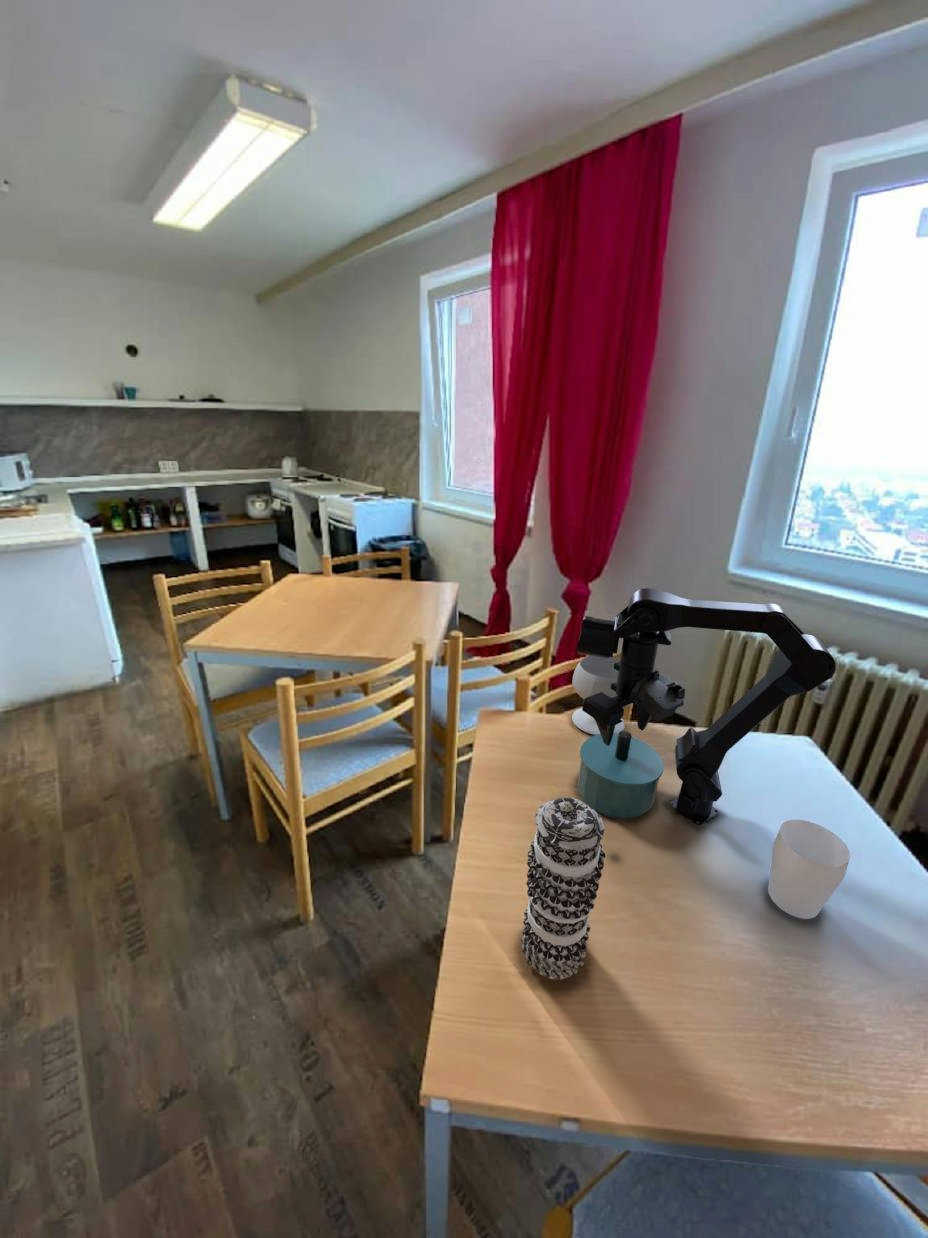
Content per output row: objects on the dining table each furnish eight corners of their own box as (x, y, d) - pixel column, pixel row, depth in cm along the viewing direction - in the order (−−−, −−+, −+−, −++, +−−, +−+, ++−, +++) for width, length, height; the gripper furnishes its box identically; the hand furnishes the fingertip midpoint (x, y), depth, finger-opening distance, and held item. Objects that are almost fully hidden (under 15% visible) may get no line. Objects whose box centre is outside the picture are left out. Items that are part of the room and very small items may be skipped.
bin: (612, 760, 110) (617, 728, 107) (669, 801, 99) (676, 767, 96) (562, 784, 103) (566, 750, 100) (617, 830, 92) (624, 795, 89)
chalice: (613, 747, 114) (622, 688, 108) (557, 724, 122) (563, 667, 116) (637, 720, 124) (647, 664, 118) (584, 700, 132) (591, 647, 126)
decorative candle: (598, 983, 67) (625, 837, 58) (529, 995, 66) (546, 847, 56) (572, 919, 76) (592, 782, 66) (511, 929, 74) (522, 790, 64)
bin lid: (617, 729, 108) (621, 704, 105) (680, 770, 96) (686, 743, 94) (562, 752, 100) (566, 726, 98) (624, 800, 88) (629, 771, 86)
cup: (817, 886, 82) (840, 828, 77) (834, 937, 74) (861, 875, 69) (754, 869, 85) (773, 812, 80) (764, 917, 77) (785, 857, 72)
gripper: (637, 697, 79) (623, 779, 85) (711, 668, 88) (693, 743, 94) (585, 667, 87) (575, 743, 93) (657, 643, 97) (644, 714, 103)
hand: (624, 736), depth 96 cm, fingers open, 9 cm apart
